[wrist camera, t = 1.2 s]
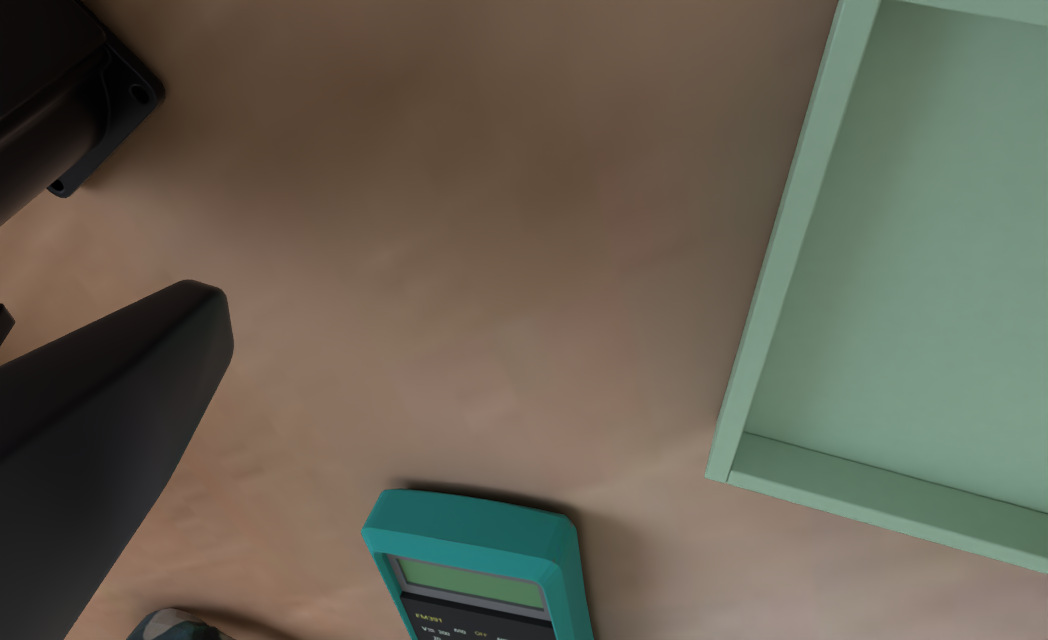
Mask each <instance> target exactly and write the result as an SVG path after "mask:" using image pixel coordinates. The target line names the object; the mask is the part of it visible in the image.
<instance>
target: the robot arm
mask: <svg viewBox="0 0 1048 640" xmlns="http://www.w3.org/2000/svg"><path fill="white" fill-rule="evenodd" d="M142 88H143V89H144V90H145V92H146V93H147V94H146V93H145V92H144V91H143V90H142ZM164 99H165V89H164V87H163V85H162V83H161V82H160V81H159V79H158V78H157V77H156V76H155V75H154V74H153V73H152V72H151V71H150V70H149V69H148V68H147V67H146V66H145V65H144V64H143V63H142V62H141V61H140V60H139V59H138V58H137V57H136V56H135V55H134V54H133V53H132V52H131V51H130V50H129V49H128V48H127V47H126V46H125V45H124V44H123V43H122V42H121V41H120V40H119V39H118V38H117V37H116V36H115V35H114V34H113V33H112V32H111V31H110V30H109V29H108V28H107V27H106V26H105V25H104V24H103V23H102V22H101V21H100V20H99V19H98V18H97V17H96V16H95V15H94V14H93V13H92V12H91V11H90V10H89V9H88V8H87V7H86V6H85V5H84V4H83V3H82V2H81V1H80V0H0V226H1V225H3V224H4V223H5V222H6V221H7V220H9V219H10V218H11V217H12V216H13V215H15V214H16V213H17V212H18V211H19V210H21V209H22V208H23V207H24V206H25V205H27V204H28V203H29V202H30V201H31V200H32V199H34V198H35V197H36V196H37V195H38V194H40V193H41V192H42V191H43V190H44V189H48V190H49V191H50V192H51V193H53V194H54V195H56V196H58V197H61V198H67V197H69V196H70V195H72V194H73V193H74V192H75V191H76V190H77V189H78V188H79V187H80V186H81V185H82V184H83V183H84V182H85V181H86V180H87V179H88V178H89V177H90V176H91V175H92V174H93V173H94V172H95V171H96V170H97V169H98V168H99V167H100V166H101V165H102V164H103V163H104V162H105V161H106V160H107V159H108V158H109V157H110V156H111V155H112V154H113V153H114V151H115V150H116V149H117V148H118V147H119V146H120V145H121V144H122V143H123V142H124V141H125V140H126V139H127V138H128V137H129V136H130V135H131V134H132V133H133V132H134V131H135V130H136V129H137V128H138V127H139V126H140V125H141V124H142V123H143V122H144V121H145V120H146V119H147V118H148V117H149V116H150V115H151V114H152V113H153V112H154V111H155V109H156V108H157V107H158V106H159V105H160V104H161V103H162V102H163V101H164ZM14 324H15V320H14V318H13V317H12V316H11V314H10V313H9V311H8V310H7V309H6V307H5V306H4V305H3V304H1V303H0V346H1V344H2V343H3V341H4V340H5V338H6V337H7V335H8V333H9V332H10V330H11V329H12V327H13V326H14ZM233 349H234V340H233V333H232V327H231V321H230V314H229V308H228V302H227V297H226V295H225V293H224V292H223V291H222V290H221V289H219V288H217V287H214V286H211V285H208V284H204V283H201V282H198V281H195V280H183V281H179V282H177V283H175V284H173V285H170V286H168V287H166V288H164V289H162V290H160V291H158V292H156V293H154V294H151V295H149V296H147V297H145V298H143V299H141V300H139V301H137V302H135V303H132V304H130V305H128V306H126V307H124V308H122V309H120V310H118V311H116V312H113V313H111V314H109V315H107V316H105V317H103V318H101V319H99V320H97V321H94V322H92V323H90V324H88V325H86V326H84V327H82V328H80V329H78V330H75V331H73V332H71V333H69V334H67V335H65V336H63V337H61V338H58V339H56V340H54V341H52V342H50V343H48V344H46V345H44V346H42V347H39V348H37V349H35V350H33V351H31V352H29V353H27V354H25V355H23V356H20V357H18V358H16V359H14V360H12V361H10V362H8V363H6V364H4V365H1V366H0V640H64V638H65V637H66V635H67V634H68V632H69V631H70V629H71V628H72V626H73V625H74V623H75V622H76V620H77V619H78V617H79V616H80V614H81V613H82V611H83V610H84V608H85V607H86V605H87V604H88V602H89V601H90V599H91V598H92V596H93V595H94V593H95V592H96V590H97V589H98V587H99V586H100V584H101V583H102V581H103V580H104V578H105V577H106V575H107V574H108V572H109V571H110V569H111V568H112V566H113V565H114V563H115V562H116V560H117V559H118V557H119V556H120V554H121V553H122V551H123V550H124V548H125V547H126V545H127V544H128V542H129V541H130V539H131V538H132V536H133V535H134V533H135V532H136V530H137V529H138V527H139V526H140V524H141V523H142V521H143V520H144V518H145V517H146V515H147V514H148V512H149V511H150V509H151V508H152V506H153V505H154V503H155V502H156V500H157V499H158V497H159V496H160V494H161V492H162V491H163V489H164V488H165V486H166V485H167V483H168V481H169V479H170V478H171V476H172V474H173V472H174V470H175V469H176V467H177V465H178V463H179V461H180V459H181V457H182V455H183V453H184V451H185V449H186V448H187V446H188V444H189V442H190V440H191V438H192V436H193V434H194V432H195V430H196V428H197V426H198V424H199V422H200V420H201V418H202V416H203V414H204V413H205V411H206V409H207V407H208V405H209V403H210V401H211V399H212V397H213V395H214V393H215V391H216V389H217V387H218V385H219V383H220V381H221V380H222V378H223V376H224V374H225V372H226V370H227V368H228V366H229V364H230V361H231V358H232V355H233Z"/></svg>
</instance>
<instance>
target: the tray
mask: <svg viewBox="0 0 1048 640" xmlns="http://www.w3.org/2000/svg"><path fill="white" fill-rule="evenodd" d="M704 476H705V478H707V479H711V480H714V481H718V482H721V483H726V482H727V484H729V485H733V486H736V487H740V488H743V489H747V490H751V491H754V492H758V493H761V494H765V495H768V496H772V497H775V498H779V499H782V500H786V501H790V502H793V503H797V504H800V505H804V506H807V507H811V508H814V509H818V510H822V511H825V512H829V513H832V514H836V515H839V516H843V517H846V518H850V519H853V520H857V521H861V522H864V523H868V524H871V525H875V526H878V527H882V528H885V529H889V530H893V531H896V532H900V533H903V534H907V535H910V536H914V537H917V538H921V539H924V540H928V541H932V542H935V543H939V544H942V545H946V546H949V547H953V548H956V549H960V550H964V551H967V552H971V553H974V554H978V555H981V556H985V557H988V558H992V559H995V560H999V561H1003V562H1006V563H1010V564H1013V565H1017V566H1020V567H1024V568H1027V569H1031V570H1035V571H1038V572H1042V573H1045V574H1048V0H839V1H838V5H837V8H836V12H835V15H834V18H833V22H832V25H831V29H830V32H829V36H828V39H827V43H826V46H825V50H824V53H823V56H822V60H821V63H820V67H819V70H818V74H817V77H816V81H815V84H814V88H813V91H812V95H811V98H810V101H809V105H808V108H807V112H806V115H805V119H804V122H803V126H802V129H801V133H800V136H799V140H798V143H797V146H796V150H795V153H794V157H793V160H792V164H791V167H790V171H789V174H788V178H787V181H786V185H785V188H784V191H783V195H782V198H781V202H780V205H779V209H778V212H777V216H776V219H775V223H774V226H773V229H772V233H771V236H770V240H769V243H768V247H767V250H766V254H765V257H764V261H763V264H762V268H761V271H760V274H759V278H758V281H757V285H756V288H755V292H754V295H753V299H752V302H751V306H750V309H749V313H748V316H747V319H746V323H745V326H744V330H743V333H742V337H741V340H740V344H739V347H738V351H737V354H736V357H735V361H734V364H733V368H732V371H731V375H730V378H729V382H728V385H727V389H726V392H725V396H724V399H723V402H722V406H721V409H720V413H719V416H718V420H717V423H716V428H715V432H714V437H713V441H712V445H711V449H710V454H709V458H708V462H707V467H706V471H705V475H704Z"/></svg>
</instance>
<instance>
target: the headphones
mask: <svg viewBox="0 0 1048 640" xmlns="http://www.w3.org/2000/svg"><path fill="white" fill-rule="evenodd" d="M126 640H235V639H233V638H231V637H229V636H227V635H226V634H224V633H223V632H221V631H220V630H218V629H217V628H216V627H211V626H209V625H207V624H206V623H205V622H203V621H202V620H200V619H199V618H197V617H196V616H194V615H192V614H190V613H187V612H183V611H180V610H177V609H172V608H168V609H163V610H159V611H155V612H153V613H151V614H149V615H147V616H146V617H145V618H144V619H143V620H142V621H141V623H140V624H139V625H138V626H137V627H136V628H135V629H134V630H133V632H132V633H131V634H130V635H129V636H128V638H127V639H126Z"/></svg>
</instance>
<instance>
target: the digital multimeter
mask: <svg viewBox="0 0 1048 640" xmlns="http://www.w3.org/2000/svg"><path fill="white" fill-rule="evenodd" d="M361 534H362V537H363V539H364V541H365V543H366V545H367V547H368V549H369V551H370V553H371V555H372V557H373V559H374V561H375V563H376V565H377V567H378V569H379V572H380V574H381V576H382V578H383V580H384V582H385V584H386V586H387V588H388V590H389V592H390V594H391V596H392V599H393V601H394V603H395V605H396V607H397V609H398V611H399V613H400V615H401V617H402V620H403V622H404V624H405V626H406V628H407V631H408V633H409V635H410V637H411V639H412V640H594V637H593V632H592V627H591V622H590V617H589V612H588V607H587V602H586V596H585V589H584V581H583V574H582V567H581V559H580V552H579V545H578V538H577V530H576V528H575V526H574V524H573V523H572V522H571V521H570V520H569V519H568V517H567V516H566V515H562V514H558V513H553V512H549V511H544V510H540V509H535V508H531V507H525V506H520V505H515V504H510V503H504V502H499V501H493V500H487V499H481V498H474V497H468V496H461V495H454V494H446V493H439V492H430V491H420V490H410V489H389V490H384V491H383V492H381V494H380V496H379V498H378V500H377V502H376V504H375V505H374V507H373V509H372V511H371V513H370V515H369V517H368V519H367V520H366V522H365V524H364V526H363V528H362V530H361Z"/></svg>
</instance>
